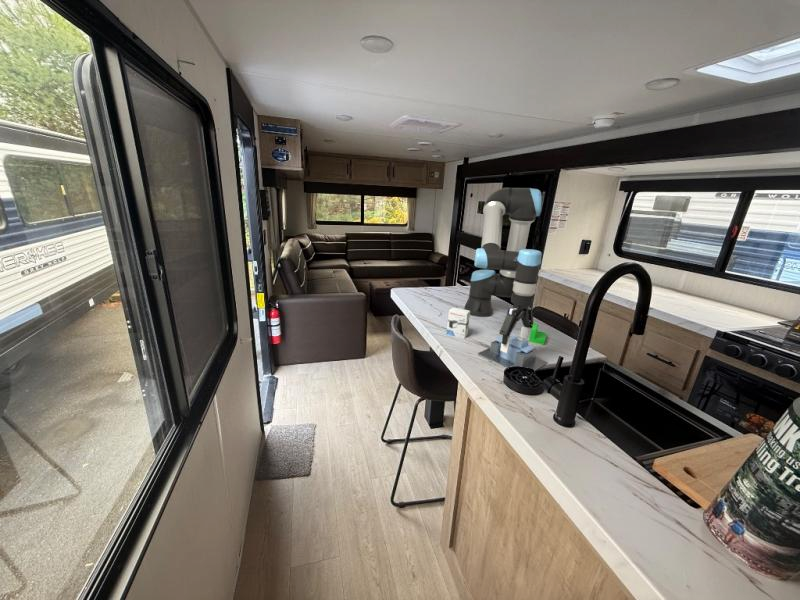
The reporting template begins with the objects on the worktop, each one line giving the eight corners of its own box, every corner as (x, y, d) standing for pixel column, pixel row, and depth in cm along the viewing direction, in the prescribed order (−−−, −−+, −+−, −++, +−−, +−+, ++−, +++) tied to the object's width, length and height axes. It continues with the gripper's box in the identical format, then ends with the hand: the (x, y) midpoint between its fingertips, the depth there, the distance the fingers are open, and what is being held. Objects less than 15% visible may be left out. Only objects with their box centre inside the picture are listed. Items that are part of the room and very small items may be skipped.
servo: (500, 349, 124) (503, 329, 121) (531, 362, 114) (535, 340, 112) (493, 352, 120) (496, 332, 118) (524, 366, 111) (528, 344, 109)
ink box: (445, 334, 137) (448, 309, 133) (449, 331, 141) (451, 307, 137) (464, 339, 133) (467, 313, 130) (467, 335, 137) (470, 310, 134)
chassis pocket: (500, 344, 130) (502, 332, 128) (547, 363, 115) (550, 349, 114) (477, 354, 120) (479, 341, 118) (526, 376, 105) (528, 361, 104)
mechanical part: (543, 345, 132) (547, 328, 129) (528, 341, 134) (531, 324, 132) (546, 336, 142) (549, 320, 139) (532, 333, 144) (535, 317, 142)
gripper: (530, 286, 121) (521, 336, 127) (494, 295, 105) (486, 351, 111) (549, 291, 115) (538, 342, 121) (514, 301, 99) (504, 360, 106)
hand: (513, 347), depth 116 cm, fingers open, 13 cm apart
